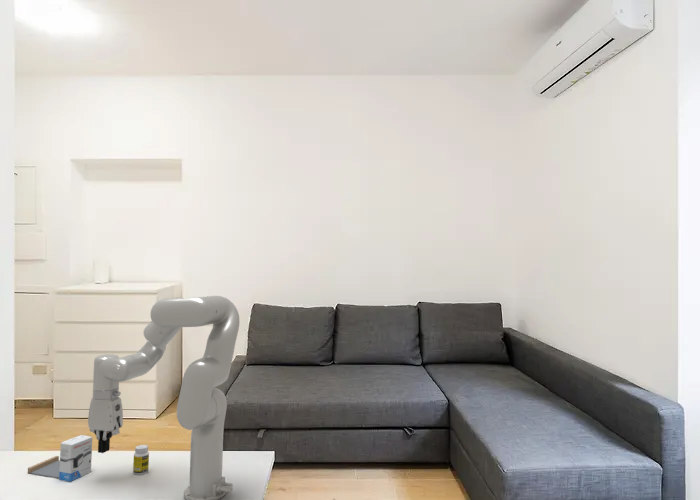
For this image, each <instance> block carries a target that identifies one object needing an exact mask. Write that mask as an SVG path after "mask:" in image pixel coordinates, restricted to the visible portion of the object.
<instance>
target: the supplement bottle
mask: <svg viewBox="0 0 700 500" xmlns="http://www.w3.org/2000/svg"><path fill="white" fill-rule="evenodd" d="M134 451H135V452H134V454H133V464H132V465H133V466H132V469H133V470H132V474H134V475H135V476H138V475H139V476H141V475H144V474H147V473H148V472H149V465H150V463H149V462H150V461H149V460H150V452H149V445H148V444H140V445H136V446H135V448H134Z"/></svg>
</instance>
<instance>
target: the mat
mask: <svg viewBox="0 0 700 500" xmlns="http://www.w3.org/2000/svg"><path fill="white" fill-rule="evenodd" d="M59 472H60V455H55V456H52V457H50V458H48V459H46V460H44V461H43V460H42V461H40V462H39V463H37V464H34V465H31V466H29V467H27V474H28V475H33V476H34V475H35V476H40V477H45V478H46V477H47V478H53V479H58V480H59Z"/></svg>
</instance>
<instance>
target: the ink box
mask: <svg viewBox="0 0 700 500" xmlns="http://www.w3.org/2000/svg"><path fill="white" fill-rule="evenodd" d="M59 450H60V453H59V460H60V472H59V479H58V480H59V481H65V482H69V483H71V482H73V481H75V480H77V479H79V478H81V477H83V476H86V475H88V474H89V473H91V472H92V459H93V458H92V457H93V455H92V454H93V436H89V435H84V434H80V435H77V436H75V437H71V438H69V439H67V440H64V441H62V442H61V443H60V449H59Z"/></svg>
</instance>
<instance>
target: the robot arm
mask: <svg viewBox="0 0 700 500" xmlns="http://www.w3.org/2000/svg"><path fill="white" fill-rule="evenodd" d="M150 319H151V321H150V322H149V323H148V324H147V325H146V326H145V327H144V329H143V337H144V338H145V340H146V342H145V343H144V345H142V346H141V348H140V349H139V350H138V351H137V352H136V353H131V354H128V355H125V356H122V357H120V356H119V355H117V354H111V353H110V354H100V355H98V356H96V357H95V358H94V359H93V361H94V362H93V379H92V380H93V381H92V382H93V383H92V398H91V399H90V404H89V408H88V415H87V427H88V428H89V431H90V432H91V433H93V434H94V435H95V437H96V440H97V441H98V443H97V453H101V454H104V453H106V452H109V451H110V448H111V447H110V444H111V443H110V442H111V441H110V440H111V439H112V437H113V436H116V435H118V434H120V433H121V431H120V428H123V425H124V414H123V410H124V409H123V404H122V398H121V391H120V383H122V382H123V383H124V382H127V381H129V380H132V379H135V378H138V377H142V376H144V375H145V374H147V373H148V372H149V371H151V370H152V368H154V367H155V366H156V364H158V362H159V361H160V360H161V359H162V357H164V354H165V352H166V348H167V345H168V344H169V343H170V342H171V340H172V339H173V338H174V337H175V336H176V335H177V334H178V333H179V332H180V330H182V328H194V327H195V328H197V327H204V326H207V325H212V327H211V328H212V329H211V330H210V332H209V334H208V336H207V340H206V346H205V350H204V353H203V356H202V357H201V358H198V359H196V360H194V361H193V362H191V363H190V364H189V365H188V367H187V368H186V369H185V372H184V374H183V377H182V381H181V387H180V390H179V391H180V392H179V395H178V399H177V405H176V419H177V421H178V424H179V425H180V426H181V427H183V429H185V430H187V431H191V435H190V455H189V457H190V460H189V463H190V464H189V485H188V486H187V487H186V488H184V491H183V497H184V499H185V500H220V499H221V498H223V497H224V496H225V495H226V494H232V492H233V485H234V484H233V483H231V482H227V481H226V476H223V453H224V431H225V430H224V427H225V420H226V415H227V414H226V413H227V409H228V408H227V407H228V403H227V402H228V401H227V398H226V395H225V393H224V392H223V391H222V390H221V389H219V388H217V387H218V386H221V385H223V383H225V382H226V381H227V380H228V379H229V376H230V374H231V373H230V372H231V366H232V363H233V358H234V353H235V347H236V343H237V342H236V341H237V337H238V333H239V328H240V321H241V320H240V313H239V310H238V309H237V307H236V305H235V304H234V303H233V302H232V301H231V300H230V299H228V298H227V297H224V296H222V295H209V296H201V297H200V296H199V297H188V298H187V297H186V298H184V297H180V296H179V297H176V296H175V297H168V298H161V299H160V300H158V301H156V302H155V303H154V304H153V305H152V307H151V309H150Z"/></svg>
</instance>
